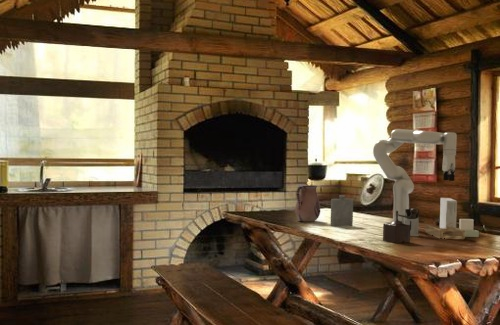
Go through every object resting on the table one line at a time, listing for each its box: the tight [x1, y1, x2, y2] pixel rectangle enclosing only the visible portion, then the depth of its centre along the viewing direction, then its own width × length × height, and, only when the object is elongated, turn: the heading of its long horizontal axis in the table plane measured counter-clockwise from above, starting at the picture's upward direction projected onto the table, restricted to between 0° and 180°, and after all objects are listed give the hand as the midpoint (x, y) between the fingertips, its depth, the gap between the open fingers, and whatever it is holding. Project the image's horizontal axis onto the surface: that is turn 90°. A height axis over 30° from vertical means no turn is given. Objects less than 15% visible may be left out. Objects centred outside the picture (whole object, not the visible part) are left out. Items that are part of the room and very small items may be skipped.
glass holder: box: [402, 208, 420, 237], centre depth 331 cm, size 9×14×15 cm, turn 131°
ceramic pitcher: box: [294, 184, 321, 223], centre depth 391 cm, size 18×21×25 cm
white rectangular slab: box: [458, 218, 475, 231], centre depth 337 cm, size 8×2×10 cm, turn 91°
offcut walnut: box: [445, 231, 453, 235], centre depth 329 cm, size 4×4×2 cm
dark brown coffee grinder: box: [382, 208, 418, 244], centre depth 304 cm, size 16×11×18 cm
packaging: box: [439, 197, 458, 228], centre depth 364 cm, size 30×6×20 cm, turn 168°
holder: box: [465, 229, 480, 238], centre depth 337 cm, size 12×8×4 cm, turn 90°
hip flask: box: [329, 194, 354, 227], centre depth 371 cm, size 16×4×20 cm, turn 110°
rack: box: [425, 224, 466, 240], centre depth 334 cm, size 14×26×5 cm, turn 0°
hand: (448, 180), depth 347 cm, fingers open, 9 cm apart
